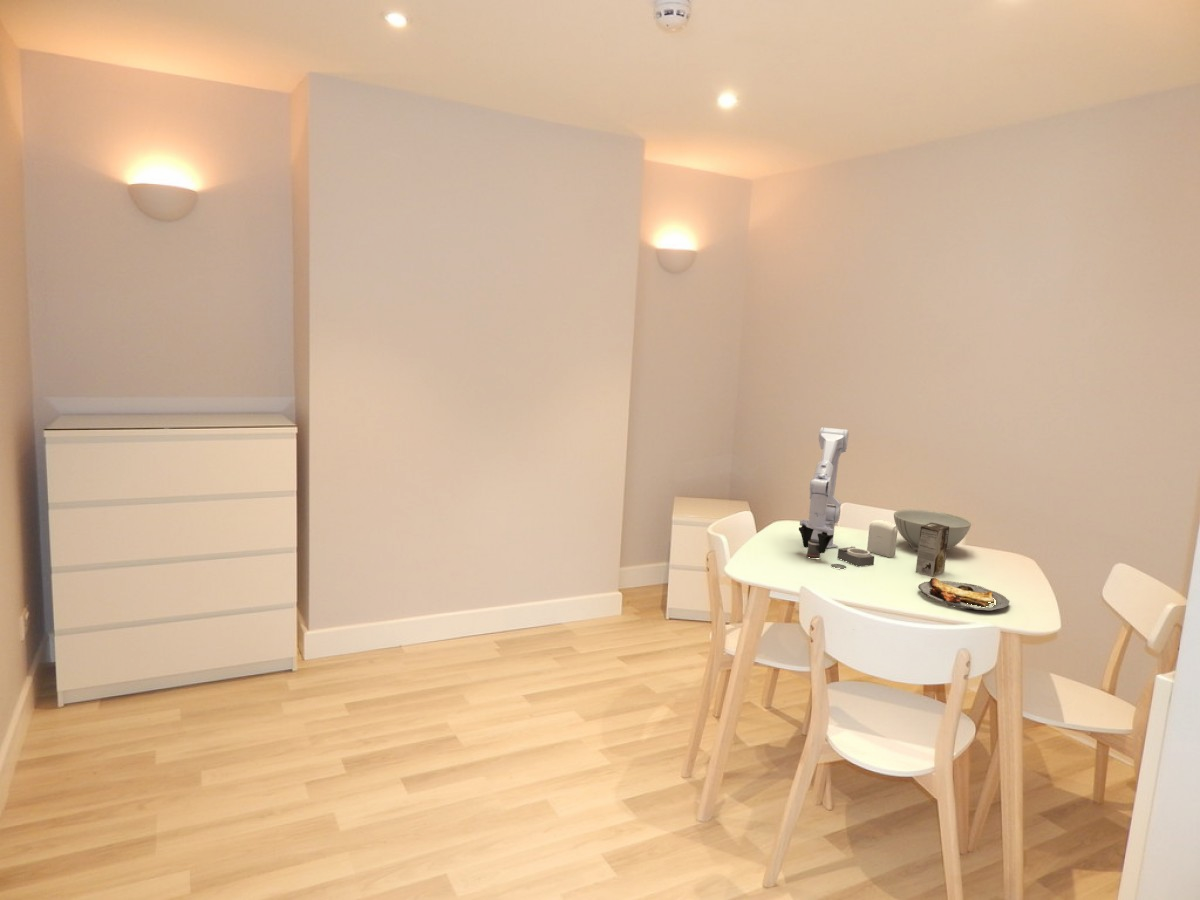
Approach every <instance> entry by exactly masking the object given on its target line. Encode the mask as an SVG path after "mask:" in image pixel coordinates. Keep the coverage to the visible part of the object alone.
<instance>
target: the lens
mask: <svg viewBox="0 0 1200 900" xmlns="http://www.w3.org/2000/svg"><path fill="white" fill-rule="evenodd" d="M807 556H808V557H810V558H821V554H820V553H819V540H816V539H810V540H808V547H807V552H806V557H807ZM808 557H807V558H808ZM810 558H809V559H810Z"/></svg>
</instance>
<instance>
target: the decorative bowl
mask: <svg viewBox="0 0 1200 900" xmlns="http://www.w3.org/2000/svg"><path fill="white" fill-rule="evenodd" d="M893 519H894V523H895V524H894V525H896V526H897V528H898V533H899V534H900V535H901V538H903V539H904V540H905V541H906V542H907V543H908V544H910V548H911V549H913V550H914V551H917V550H918V548H919V539H920V531H921V526H924V525H926V524H929V523H937V524H941V525H944V526H949V534H948V543H947V550H949V549H951V548H954V547H955V546H957V545H958V544H960V542H962V540H963V539H964V538H965V537H966V535H967V534H968V533H969V531H970V529H971V526H972V523H971V522H970V521H969V519H966V518H963V517H961V516H958V515H954V514H950V513H946V512H940V511H934V510H933V511H932V510H925V509H924V510H923V509H901V510H896V511H894V513H893Z"/></svg>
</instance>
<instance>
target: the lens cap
mask: <svg viewBox="0 0 1200 900" xmlns="http://www.w3.org/2000/svg"><path fill="white" fill-rule="evenodd" d="M831 566H832V567H835V568H840V569H844V568H846V569H847V566H846V565H845V564H842V563H831V564H830V567H831ZM832 567H831V568H832ZM840 569H839V570H840ZM844 570H845V569H844Z"/></svg>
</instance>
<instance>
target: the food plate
mask: <svg viewBox="0 0 1200 900" xmlns="http://www.w3.org/2000/svg"><path fill="white" fill-rule="evenodd" d="M917 588H918V589H919V590H920V591H921V593H922V594H924V595H925V596H926V597H928V598H933V600H936V601H941V602H943V603H945V604H946V605H949V606H951V607H954V608H956V609H957V608H958V609H959V608H961V609H962V608H963V609H965V610H966V609H967V610H968V609H969V610H971V609H972V610H979V611H980V610H981V611H993V610H997V609H998V610H999V609H1005V608H1006V607H1008V606H1009V604H1010V600H1009V599H1008V598H1007V597H1006V596H1005V595H1003V594H1002V593H999V592H997V591H993V590H991V589H987V588H986V587H983V586H981V585H976V584H971V583H965V582H957V581H951V580H940V579H939V578H936V577H931V578H930V580H929V581H924V582H921V583H919V584H918V587H917ZM993 598H994V599H995V600H996V605H994V606H993V605H992V606H993V607H992V606H990V605H991V603H994V599H993ZM988 602H991V603H988ZM967 603H968V604H967ZM971 604H972V605H977V606H970V605H971ZM965 605H966V606H965ZM979 606H981V607H979ZM986 606H989V607H986ZM982 607H985V608H982Z"/></svg>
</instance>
